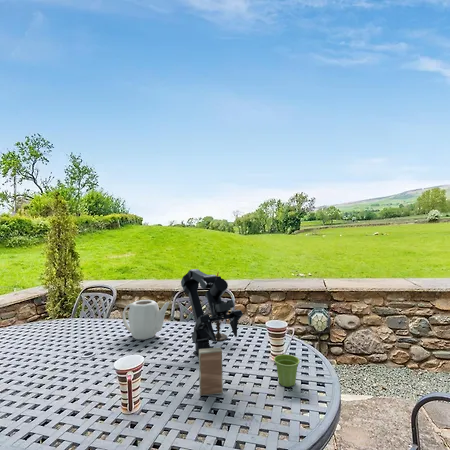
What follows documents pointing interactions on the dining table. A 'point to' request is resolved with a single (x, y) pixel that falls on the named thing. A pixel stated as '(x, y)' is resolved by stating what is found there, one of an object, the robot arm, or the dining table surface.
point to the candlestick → (218, 329)
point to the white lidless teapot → (144, 318)
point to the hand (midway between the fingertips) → (225, 338)
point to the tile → (210, 371)
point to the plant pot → (286, 369)
